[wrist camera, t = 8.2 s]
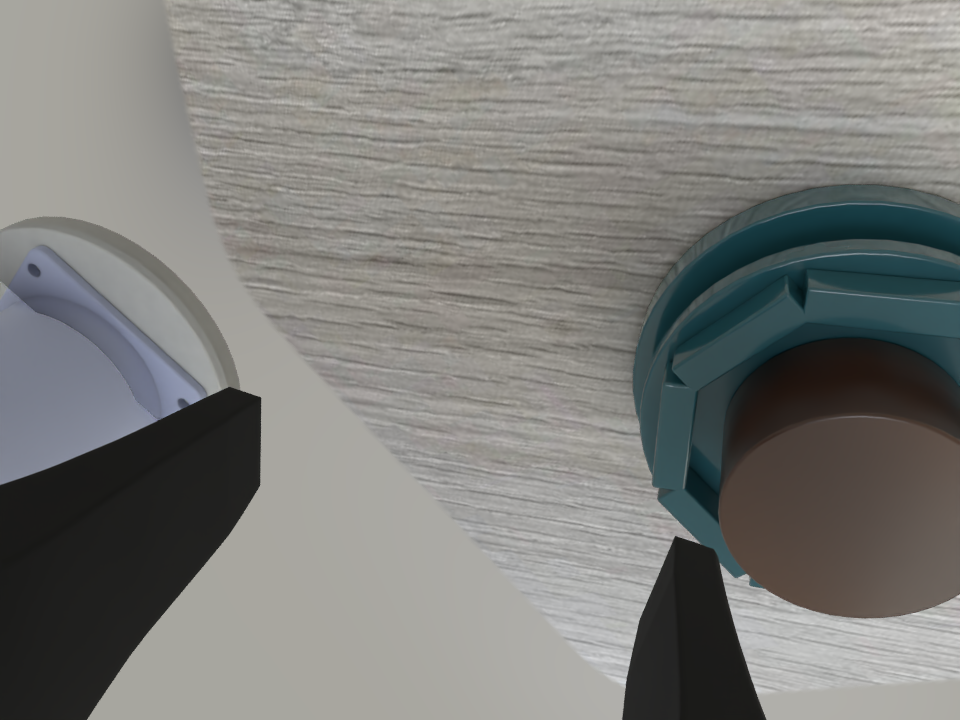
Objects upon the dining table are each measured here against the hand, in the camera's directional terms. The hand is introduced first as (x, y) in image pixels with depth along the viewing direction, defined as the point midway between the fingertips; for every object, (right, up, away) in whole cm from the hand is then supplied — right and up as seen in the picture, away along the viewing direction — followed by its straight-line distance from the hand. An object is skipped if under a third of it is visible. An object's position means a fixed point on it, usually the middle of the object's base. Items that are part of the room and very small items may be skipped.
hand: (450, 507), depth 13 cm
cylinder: (+9, +1, +5) cm, 10 cm away
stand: (+10, +2, +7) cm, 12 cm away
